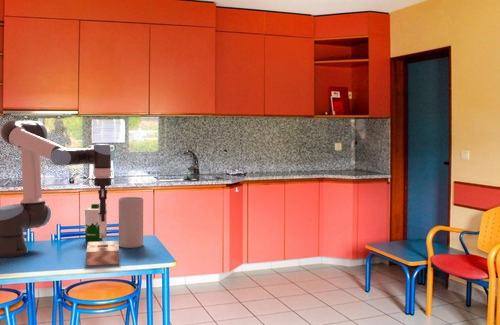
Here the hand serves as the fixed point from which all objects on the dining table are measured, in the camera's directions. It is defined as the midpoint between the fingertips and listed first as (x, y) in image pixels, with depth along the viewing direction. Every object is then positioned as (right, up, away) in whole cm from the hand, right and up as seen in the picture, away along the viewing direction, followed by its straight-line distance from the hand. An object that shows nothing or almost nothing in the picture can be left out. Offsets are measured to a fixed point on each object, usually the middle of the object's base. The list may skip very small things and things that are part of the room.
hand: (103, 227), depth 234 cm
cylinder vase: (+6, -14, +30) cm, 33 cm away
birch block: (0, -15, +1) cm, 15 cm away
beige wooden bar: (0, -5, 0) cm, 5 cm away
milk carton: (-17, -13, +40) cm, 45 cm away
